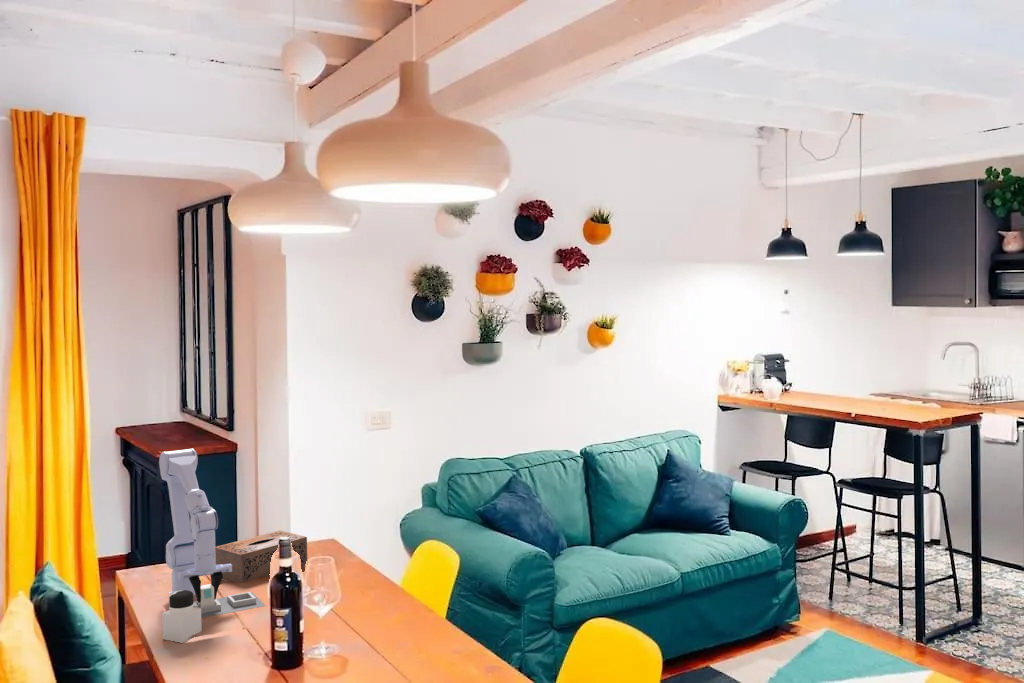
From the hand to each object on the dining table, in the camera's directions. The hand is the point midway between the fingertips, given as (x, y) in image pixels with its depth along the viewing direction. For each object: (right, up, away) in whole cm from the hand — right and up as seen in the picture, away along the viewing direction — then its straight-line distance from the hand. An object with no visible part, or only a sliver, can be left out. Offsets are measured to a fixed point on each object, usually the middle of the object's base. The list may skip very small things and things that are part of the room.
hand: (206, 600), depth 258 cm
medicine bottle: (0, -5, -19) cm, 19 cm away
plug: (0, -2, 0) cm, 2 cm away
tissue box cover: (+5, -2, +38) cm, 39 cm away
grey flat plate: (+4, -3, +3) cm, 6 cm away
